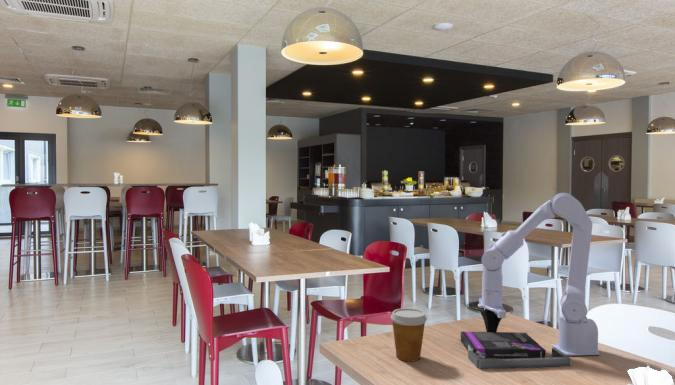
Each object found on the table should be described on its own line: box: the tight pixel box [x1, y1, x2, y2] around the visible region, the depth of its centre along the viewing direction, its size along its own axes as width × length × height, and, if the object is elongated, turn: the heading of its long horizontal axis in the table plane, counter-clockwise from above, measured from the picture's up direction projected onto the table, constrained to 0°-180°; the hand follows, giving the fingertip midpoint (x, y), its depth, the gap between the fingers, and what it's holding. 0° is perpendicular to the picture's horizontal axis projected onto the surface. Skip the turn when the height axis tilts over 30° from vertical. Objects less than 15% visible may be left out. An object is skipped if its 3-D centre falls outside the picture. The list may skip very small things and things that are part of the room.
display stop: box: [467, 347, 572, 370], centre depth 125 cm, size 24×8×2 cm, turn 95°
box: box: [460, 331, 547, 360], centre depth 134 cm, size 14×4×20 cm
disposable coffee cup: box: [390, 307, 428, 362], centre depth 128 cm, size 10×10×12 cm
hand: (491, 335), depth 142 cm, fingers closed
